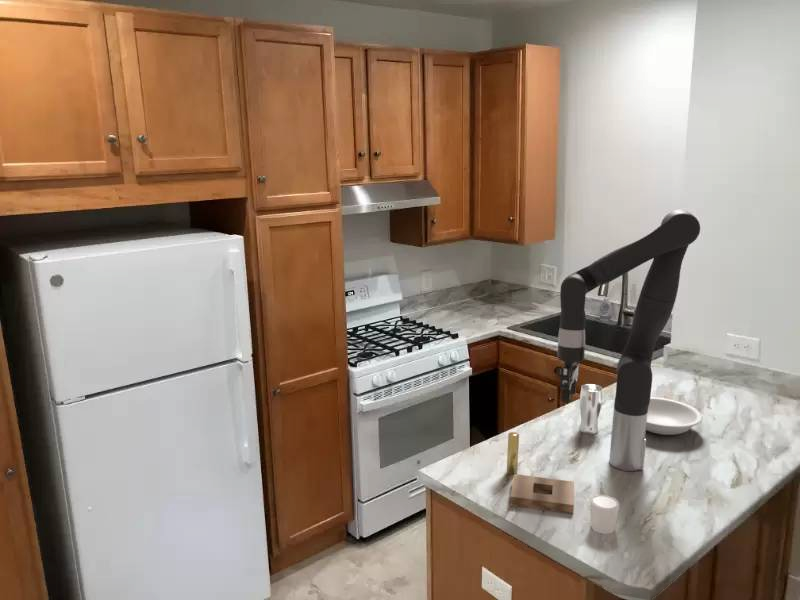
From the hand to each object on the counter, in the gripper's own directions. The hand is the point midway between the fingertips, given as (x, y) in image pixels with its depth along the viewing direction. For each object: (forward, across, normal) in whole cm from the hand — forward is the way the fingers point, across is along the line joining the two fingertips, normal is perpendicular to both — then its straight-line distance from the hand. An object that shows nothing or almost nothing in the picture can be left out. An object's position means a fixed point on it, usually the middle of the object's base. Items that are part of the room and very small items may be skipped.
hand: (568, 397), depth 185 cm
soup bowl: (+18, +37, -24) cm, 47 cm away
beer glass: (+18, +25, -2) cm, 31 cm away
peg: (+20, -13, +12) cm, 27 cm away
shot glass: (+23, -29, -15) cm, 40 cm away
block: (+22, -22, +1) cm, 31 cm away
